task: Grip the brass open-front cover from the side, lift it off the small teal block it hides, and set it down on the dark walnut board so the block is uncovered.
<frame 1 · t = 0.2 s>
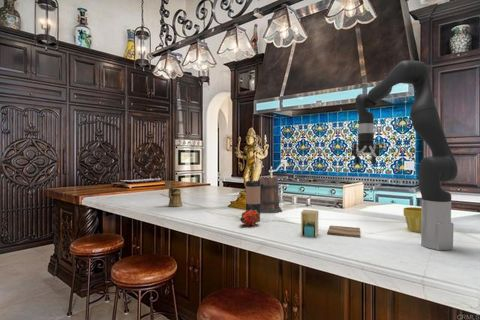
hand: (365, 164, 155), 29 cm above the countertop, tool pointing down, fingers open, 8 cm apart
travel mug: (252, 219, 157), on the countertop
wooden mug: (173, 206, 196), on the countertop
brass cover: (309, 235, 127), on the countertop
dragon fruit: (249, 226, 143), on the countertop
plant pot: (416, 231, 134), on the countertop
tankard: (265, 211, 179), on the countertop
teal block: (309, 230, 127), in the brass cover
walnut board: (344, 232, 131), on the countertop
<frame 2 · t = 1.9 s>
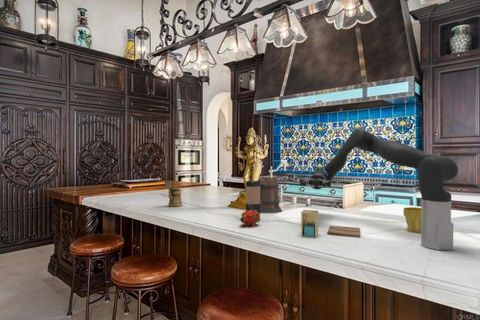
hand: (313, 184, 137), 20 cm above the countertop, tool horizontal, fingers open, 8 cm apart
nothing on the countertop moved.
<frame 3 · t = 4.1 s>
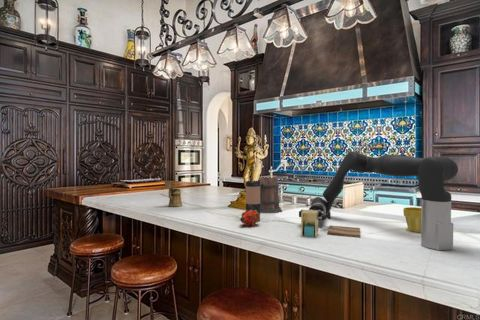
hand: (312, 217, 134), 6 cm above the countertop, tool horizontal, fingers open, 8 cm apart
nothing on the countertop moved.
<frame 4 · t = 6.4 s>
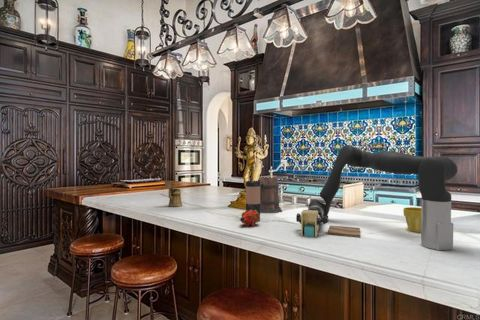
hand: (309, 222, 125), 6 cm above the countertop, tool horizontal, fingers closed on brass cover, 6 cm apart
brass cover: (309, 234, 127), on the countertop, touching gripper
everything else where it was.
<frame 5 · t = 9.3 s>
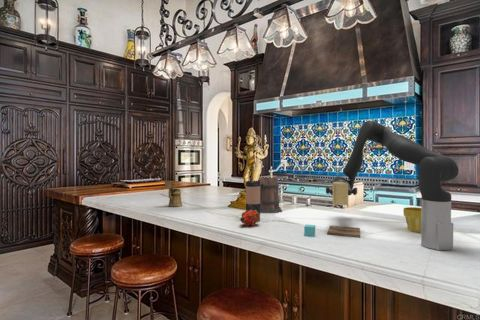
hand: (340, 192, 128), 18 cm above the countertop, tool horizontal, fingers closed on brass cover, 6 cm apart
brass cover: (340, 205, 130), point 12 cm above the countertop, touching gripper
everything else where it was.
when the fingers open (8 cm above the countertop, at t = 12.3 s): brass cover drops 1 cm, resting on walnut board.
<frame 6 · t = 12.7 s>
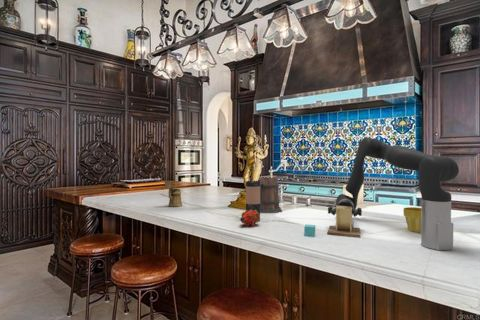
hand: (344, 213, 129), 9 cm above the countertop, tool horizontal, fingers open, 8 cm apart
brass cover: (343, 230, 131), point 1 cm above the countertop, touching walnut board
everything else where it was.
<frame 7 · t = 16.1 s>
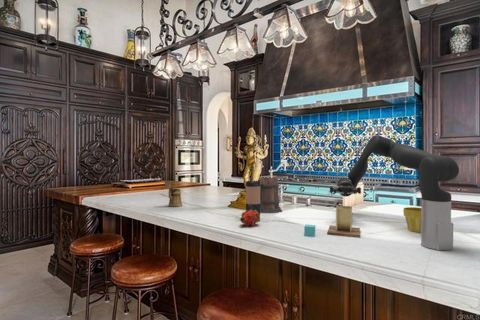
hand: (344, 191, 141), 17 cm above the countertop, tool horizontal, fingers open, 8 cm apart
nothing on the countertop moved.
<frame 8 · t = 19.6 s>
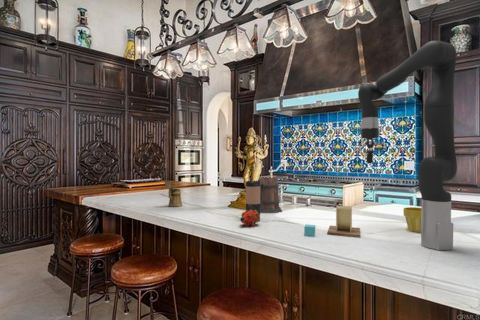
hand: (369, 163, 139), 30 cm above the countertop, tool pointing down, fingers open, 8 cm apart
nothing on the countertop moved.
at the end: brass cover inside the target area on the walnut board (0.1 cm from its centre), point 1.0 cm above the walnut board's base; brass cover tilted 0°; teal block moved 0.1 cm from its start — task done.
